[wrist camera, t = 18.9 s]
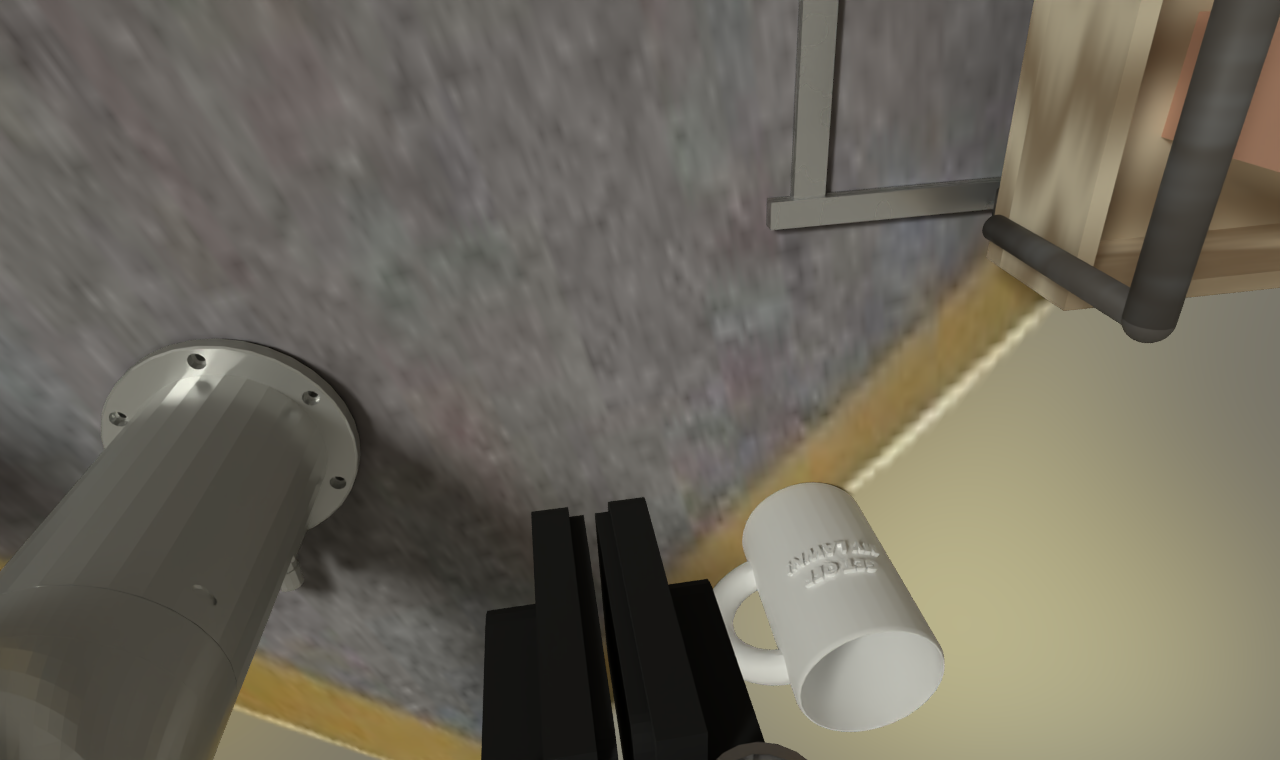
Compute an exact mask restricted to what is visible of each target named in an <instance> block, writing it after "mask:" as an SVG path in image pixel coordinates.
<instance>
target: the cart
mask: <svg viewBox="0 0 1280 760" xmlns="http://www.w3.org/2000/svg"><path fill="white" fill-rule="evenodd" d="M1200 11H1211V13H1210V16H1209V19H1208V23H1207V26H1206V30H1205V33H1204V37H1203V40H1202V43H1201V47H1200V50H1199V54H1198V57H1197V61H1196V64H1195V67H1194V71H1193V74H1192V78H1191V81H1190V84H1189V88H1188V91H1187V95H1186V98H1185V102H1184V105H1183V108H1182V112H1181V115H1180V119H1179V122H1178V126H1177V129H1176V132H1175V136H1174V139H1173V140H1169V139H1166V138H1163V137H1161V136H1162V133H1163V129H1164V126H1165V123H1166V120H1167V116H1168V113H1169V110H1170V106H1171V103H1172V100H1173V96H1174V93H1175V90H1176V87H1177V83H1178V80H1179V77H1180V73H1181V70H1182V67H1183V64H1184V60H1185V57H1186V54H1187V50H1188V47H1189V44H1190V41H1191V37H1192V34H1193V31H1194V27H1195V24H1196V21H1197V17H1198V14H1199V12H1200ZM1279 17H1280V0H1034V4H1033V9H1032V15H1031V20H1030V26H1029V31H1028V36H1027V42H1026V47H1025V53H1024V58H1023V63H1022V69H1021V74H1020V80H1019V85H1018V90H1017V96H1016V101H1015V107H1014V112H1013V117H1012V123H1011V128H1010V134H1009V139H1008V144H1007V150H1006V155H1005V161H1004V166H1003V171H1002V177H1001V182H1000V187H999V188H998V189H997V190H996V195H995V201H994V206H993V212H992V217H990V218H989V219H988V220H987V221H986V222H985V224H984V226H983V230H982V232H983V235H984V237H985V238H986V239H988V240H989V241H990V242H989V247H988V252H987V259H988V260H990V261H991V262H993V263H994V264H996V265H997V266H999V267H1000V268H1002V269H1003V270H1005V271H1006V272H1008V273H1009V274H1011V275H1012V276H1013V277H1015V278H1016V279H1018V280H1019V281H1021V282H1022V283H1024V284H1025V285H1027V286H1028V287H1030V288H1031V289H1033V290H1034V291H1035V292H1037V293H1038V294H1040V295H1041V296H1043V297H1044V298H1046V299H1047V300H1049V301H1050V302H1052V303H1053V304H1055V305H1056V306H1057V307H1059V308H1060V309H1062V310H1063V311H1067V310H1076V309H1086V308H1096V309H1098V310H1099V311H1101V312H1102V313H1104V314H1106V315H1107V316H1109V317H1110V318H1112V319H1113V320H1115V321H1116V322H1118V323H1120V324H1121V325H1122V327H1123V330H1124V331H1125V333H1126V334H1127V335H1128V336H1129V337H1130V338H1132V339H1133V340H1136V341H1138V342H1142V343H1154V342H1158V341H1161V340H1163V339H1165V338H1167V337H1168V336H1169V335H1170V334H1171V333H1172V332H1173V330H1174V329H1175V327H1176V325H1177V322H1178V319H1179V316H1180V313H1181V309H1182V307H1183V304H1184V300H1185V298H1187V297H1198V296H1206V295H1216V294H1225V293H1235V292H1244V291H1253V290H1263V289H1272V288H1280V172H1277V171H1273V170H1270V169H1267V168H1263V167H1260V166H1257V165H1253V164H1250V163H1246V162H1243V161H1240V160H1236V159H1233V158H1232V157H1233V154H1234V151H1235V148H1236V145H1237V142H1238V139H1239V136H1240V133H1241V130H1242V127H1243V124H1244V121H1245V118H1246V115H1247V112H1248V109H1249V106H1250V103H1251V100H1252V97H1253V95H1254V92H1255V89H1256V86H1257V83H1258V80H1259V77H1260V74H1261V71H1262V68H1263V65H1264V62H1265V59H1266V56H1267V53H1268V50H1269V47H1270V44H1271V41H1272V38H1273V35H1274V32H1275V29H1276V26H1277V23H1278V20H1279Z"/></svg>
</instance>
